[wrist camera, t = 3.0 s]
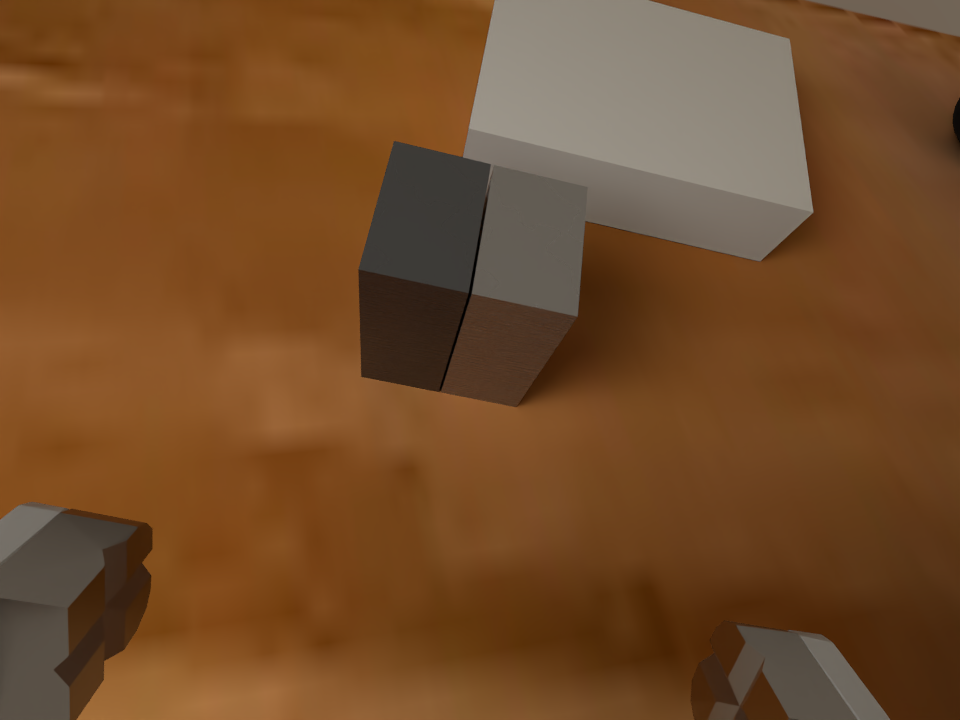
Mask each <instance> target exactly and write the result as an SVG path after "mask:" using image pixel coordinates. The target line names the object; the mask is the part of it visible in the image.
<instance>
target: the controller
mask: <svg viewBox="0 0 960 720" xmlns="http://www.w3.org/2000/svg"><path fill="white" fill-rule="evenodd" d="M953 126H954V131H955V134H956V136H957V138H958V140H959V142H960V98H959V100H958V102H957V104H956V106H955V110H954V114H953Z"/></svg>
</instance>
